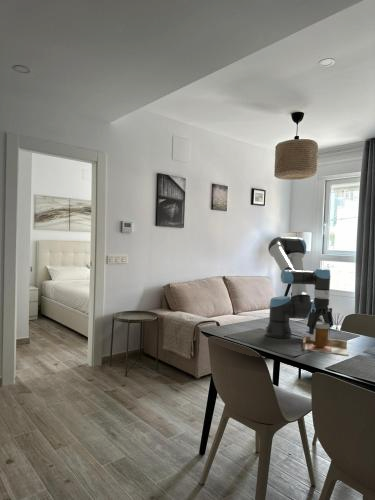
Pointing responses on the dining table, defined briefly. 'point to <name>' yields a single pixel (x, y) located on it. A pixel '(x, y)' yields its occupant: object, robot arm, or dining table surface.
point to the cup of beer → (321, 334)
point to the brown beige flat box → (327, 346)
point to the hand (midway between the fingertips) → (319, 339)
